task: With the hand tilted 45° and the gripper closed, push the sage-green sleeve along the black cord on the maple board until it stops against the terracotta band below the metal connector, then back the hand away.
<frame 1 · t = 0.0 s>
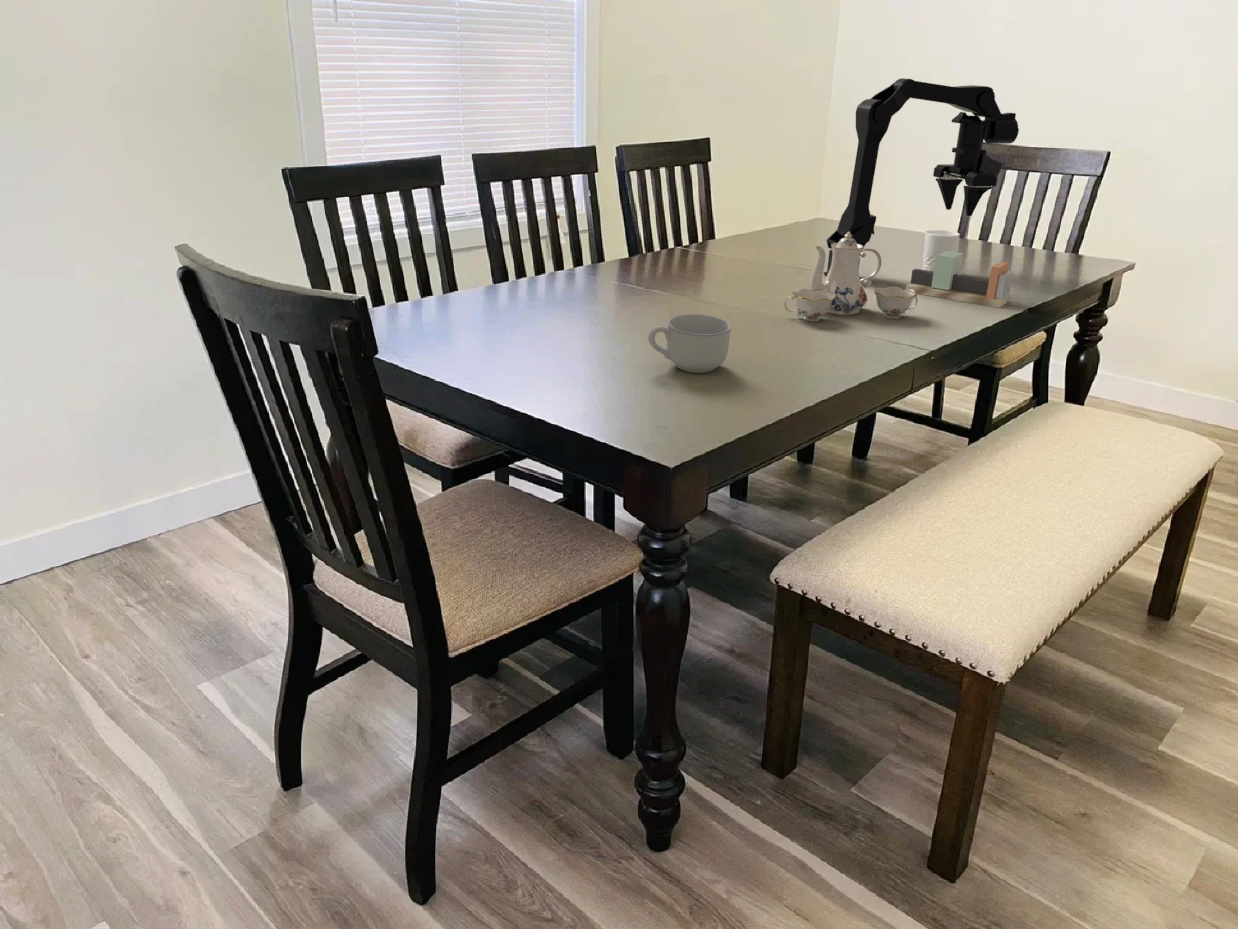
hand: (958, 212, 220), 15 cm above the table, tool pointing down, fingers open, 9 cm apart
teacup: (687, 368, 157), on the table
sleeve: (947, 270, 204), point 5 cm above the table, slide at 0.0 cm
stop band: (997, 280, 198), on the track board, point 5 cm above the table
track board: (956, 296, 205), on the table
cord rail: (955, 282, 204), on the track board, point 3 cm above the table
chinaware: (844, 314, 191), on the table
white cup: (935, 274, 226), on the table
connector: (1004, 285, 198), on the track board, point 4 cm above the table
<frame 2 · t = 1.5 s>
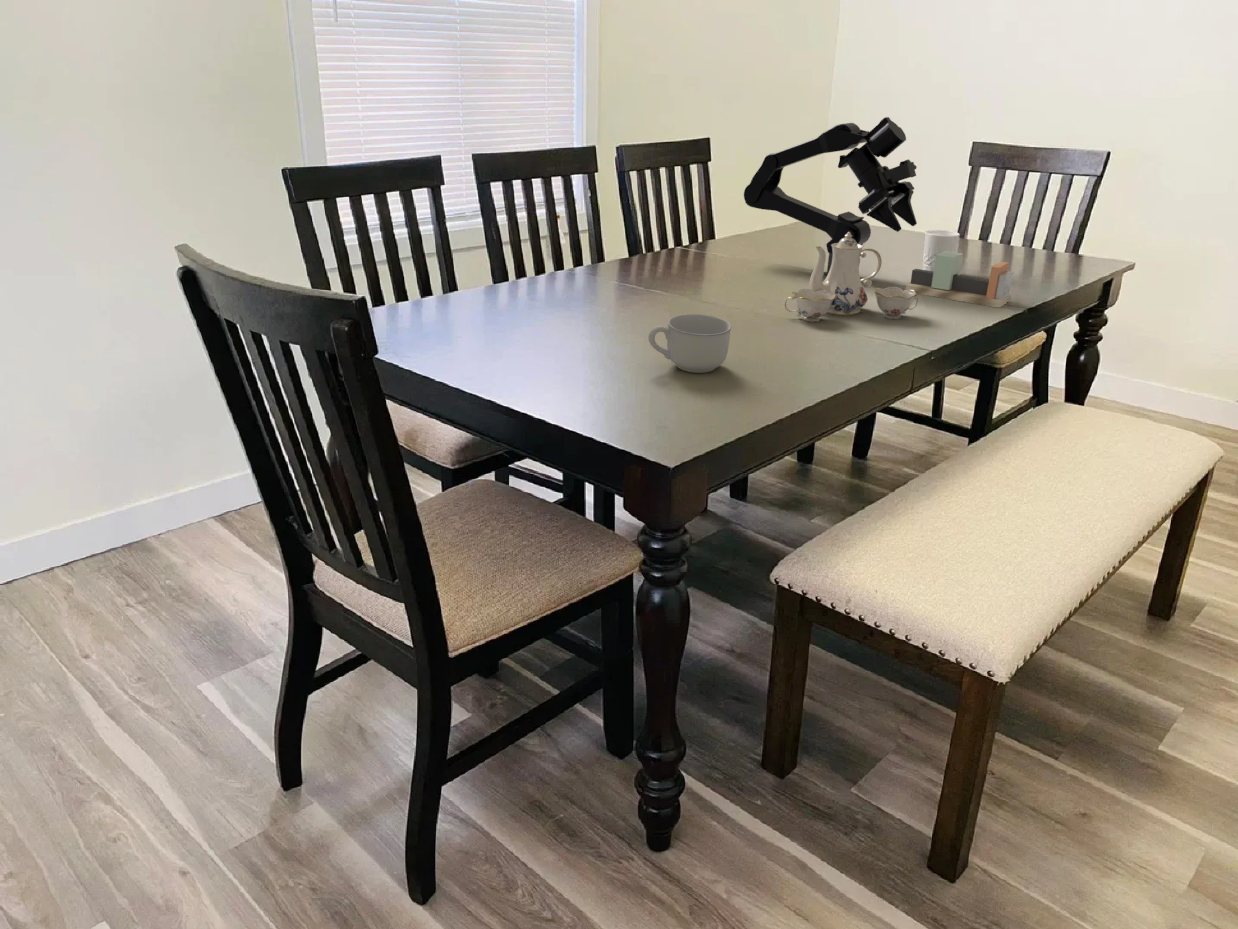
hand: (907, 227, 207), 13 cm above the table, tool tilted 45°, fingers open, 9 cm apart
nothing on the table moved.
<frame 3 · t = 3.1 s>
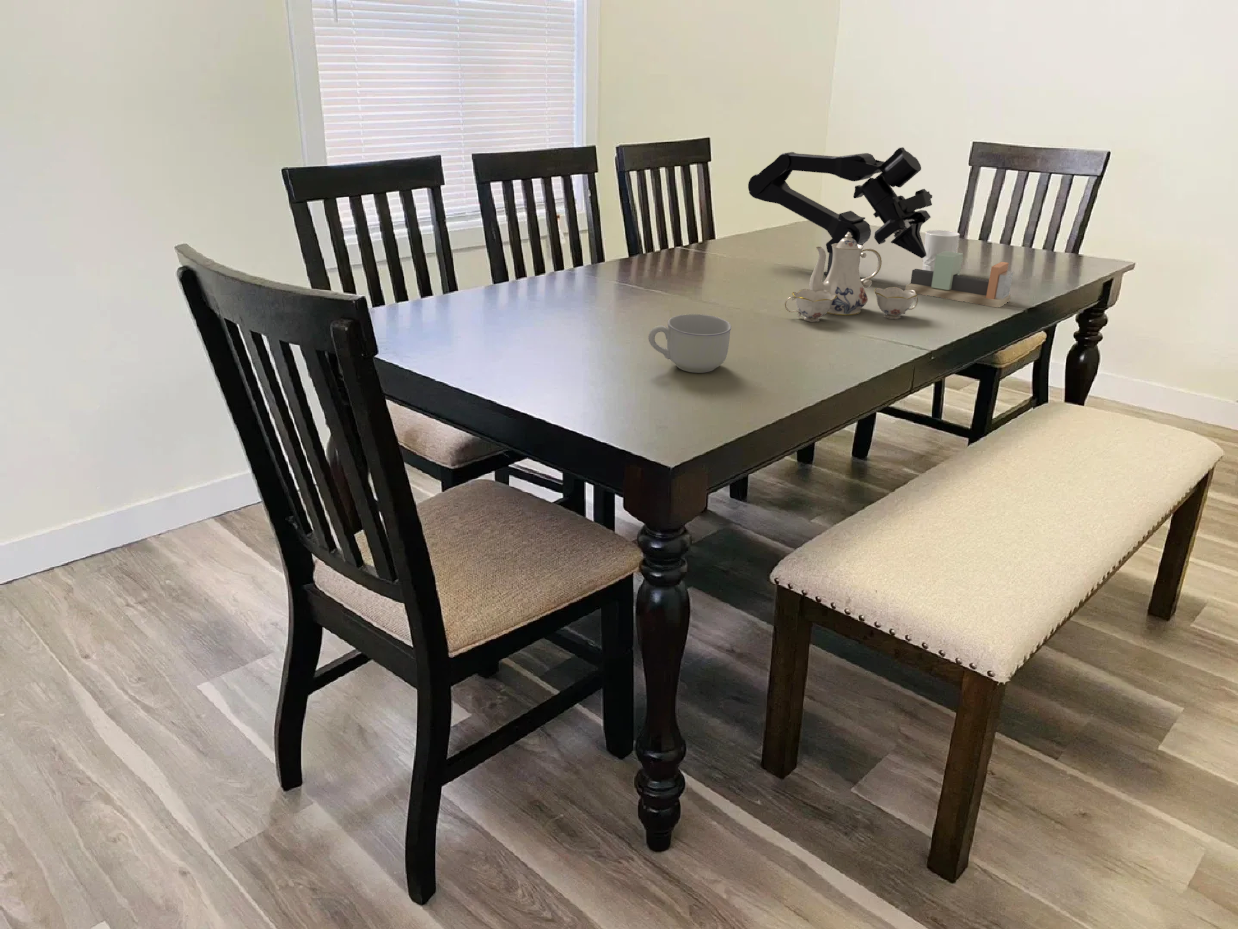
hand: (924, 256, 207), 8 cm above the table, tool tilted 45°, fingers closed
nothing on the table moved.
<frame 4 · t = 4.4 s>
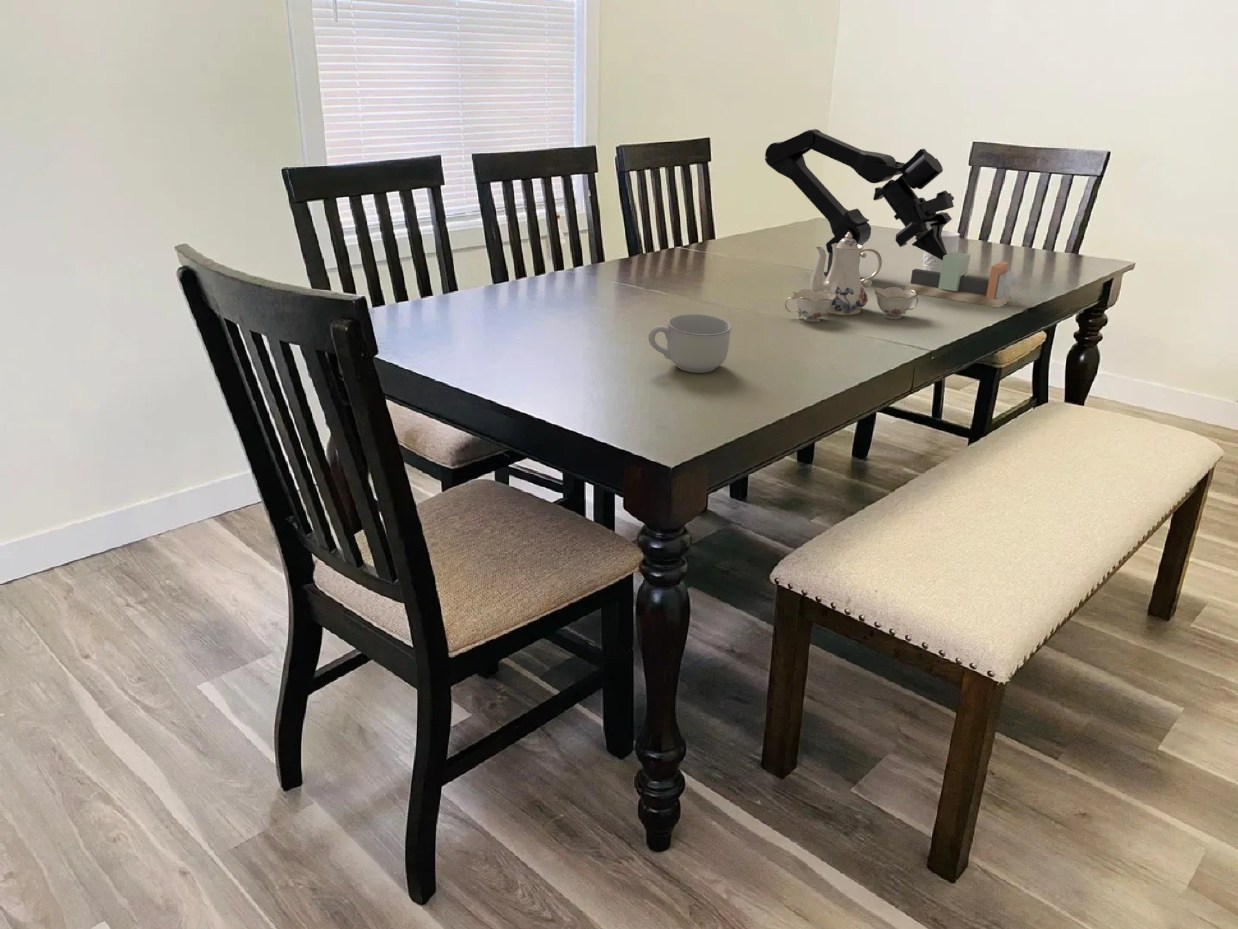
hand: (945, 259, 204), 8 cm above the table, tool tilted 45°, fingers closed, pressing on sleeve
sleeve: (954, 271, 204), point 5 cm above the table, slide at 1.6 cm, touching gripper
everything else where it was.
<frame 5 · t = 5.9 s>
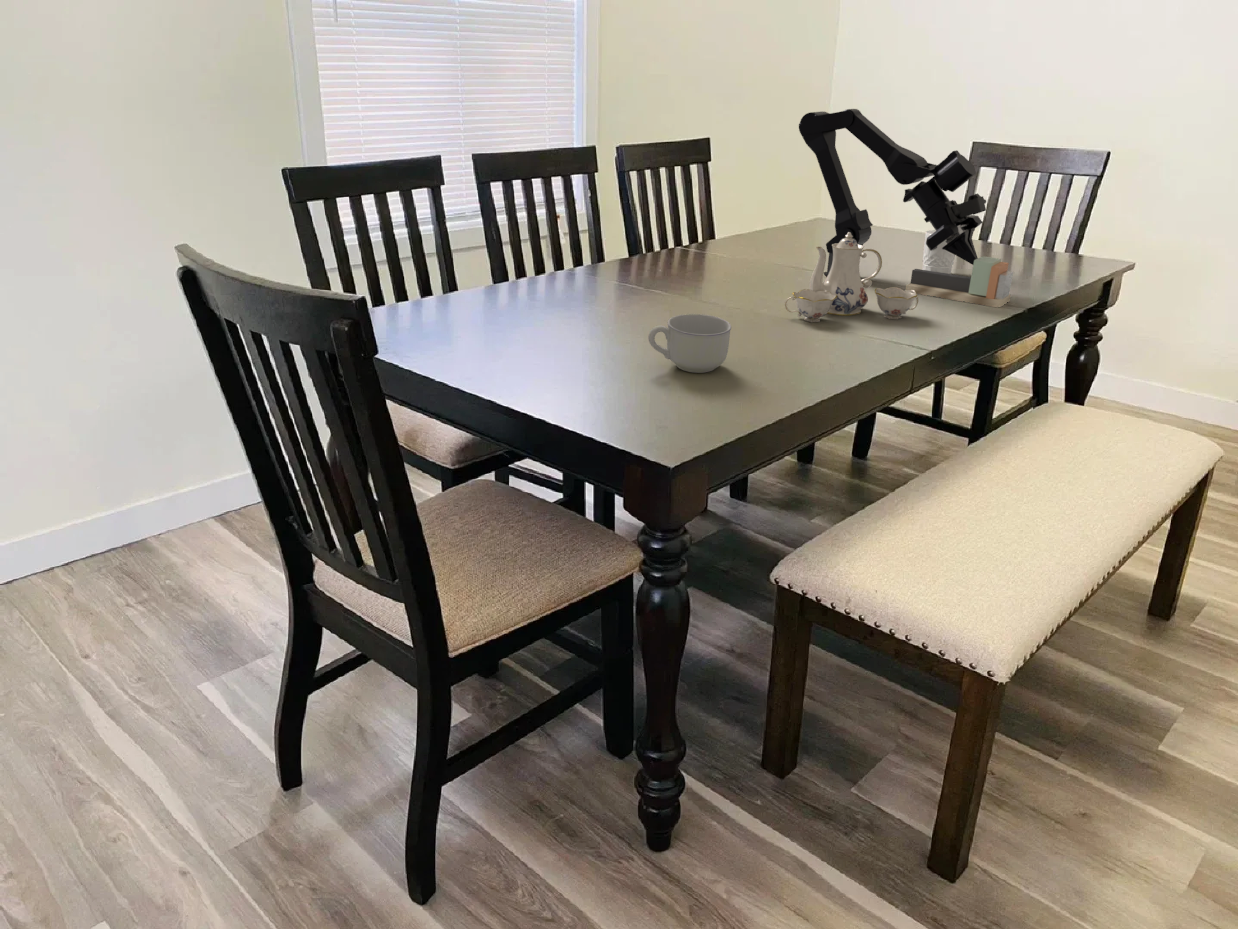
hand: (976, 263, 200), 8 cm above the table, tool tilted 45°, fingers closed, pressing on sleeve
sleeve: (984, 276, 200), point 5 cm above the table, slide at 8.3 cm, touching gripper, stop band
everything else where it was.
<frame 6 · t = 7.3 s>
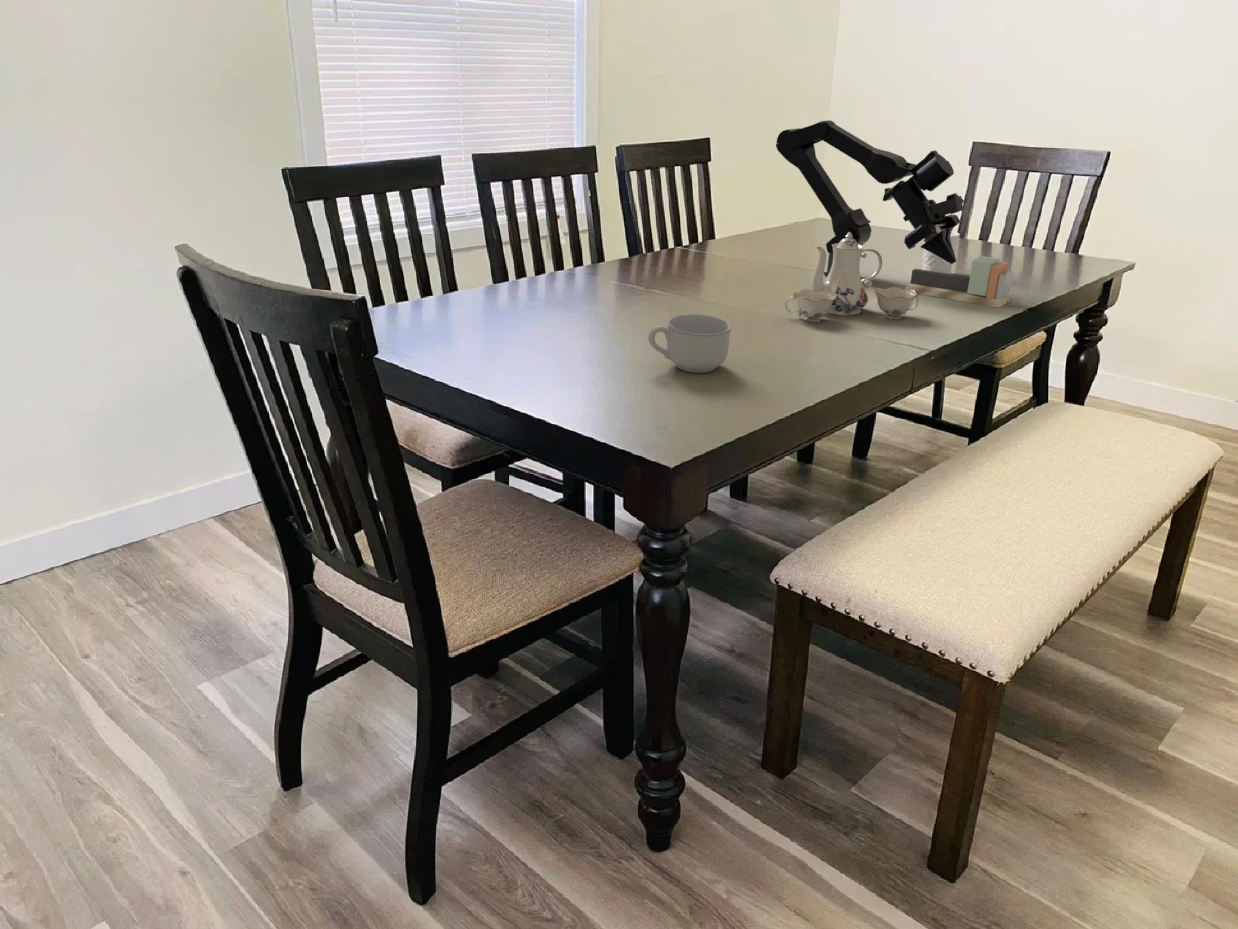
hand: (954, 262, 203), 7 cm above the table, tool tilted 45°, fingers closed
sleeve: (983, 275, 200), point 5 cm above the table, slide at 8.0 cm
everything else where it was.
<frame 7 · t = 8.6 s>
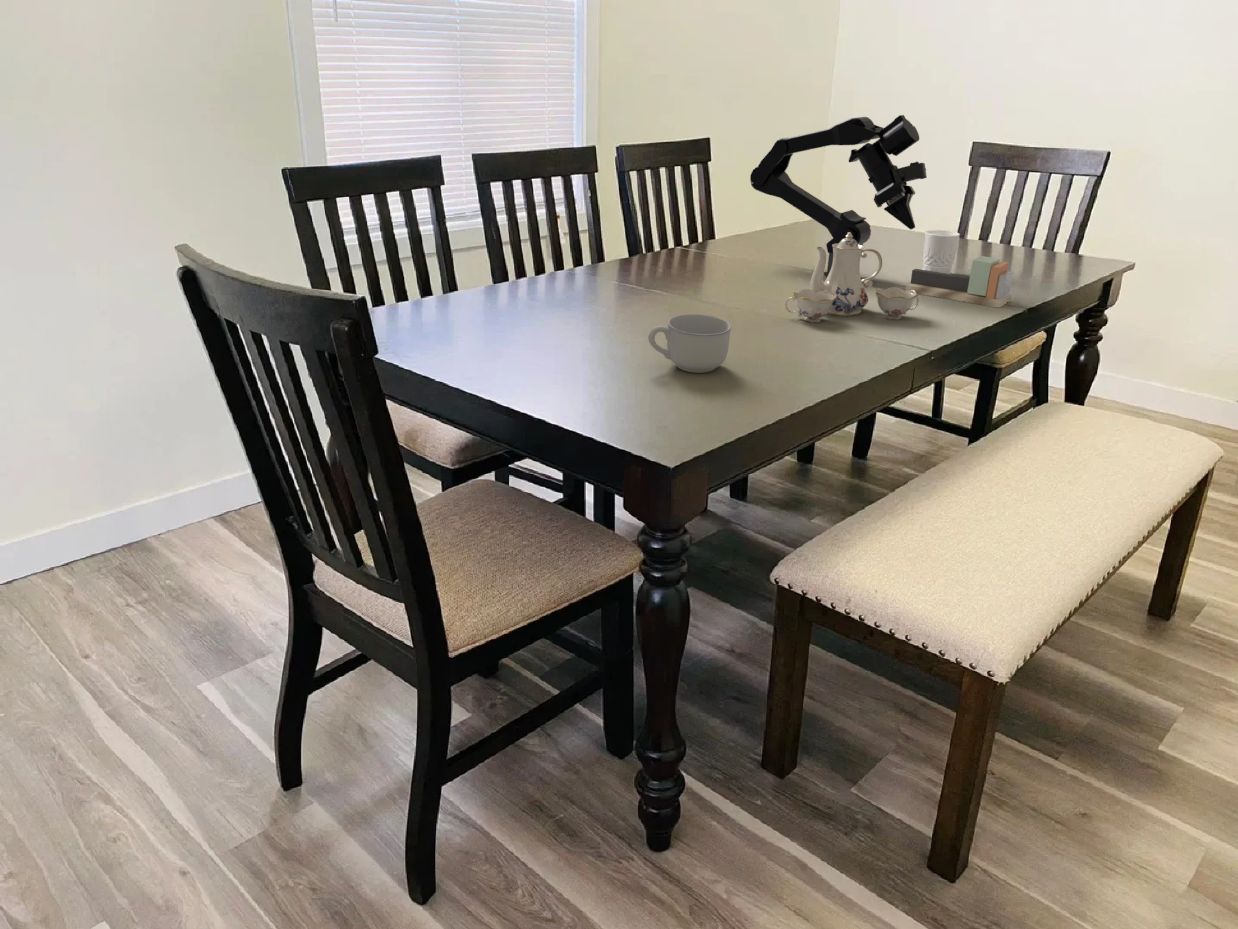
hand: (913, 228, 207), 13 cm above the table, tool tilted 40°, fingers closed
nothing on the table moved.
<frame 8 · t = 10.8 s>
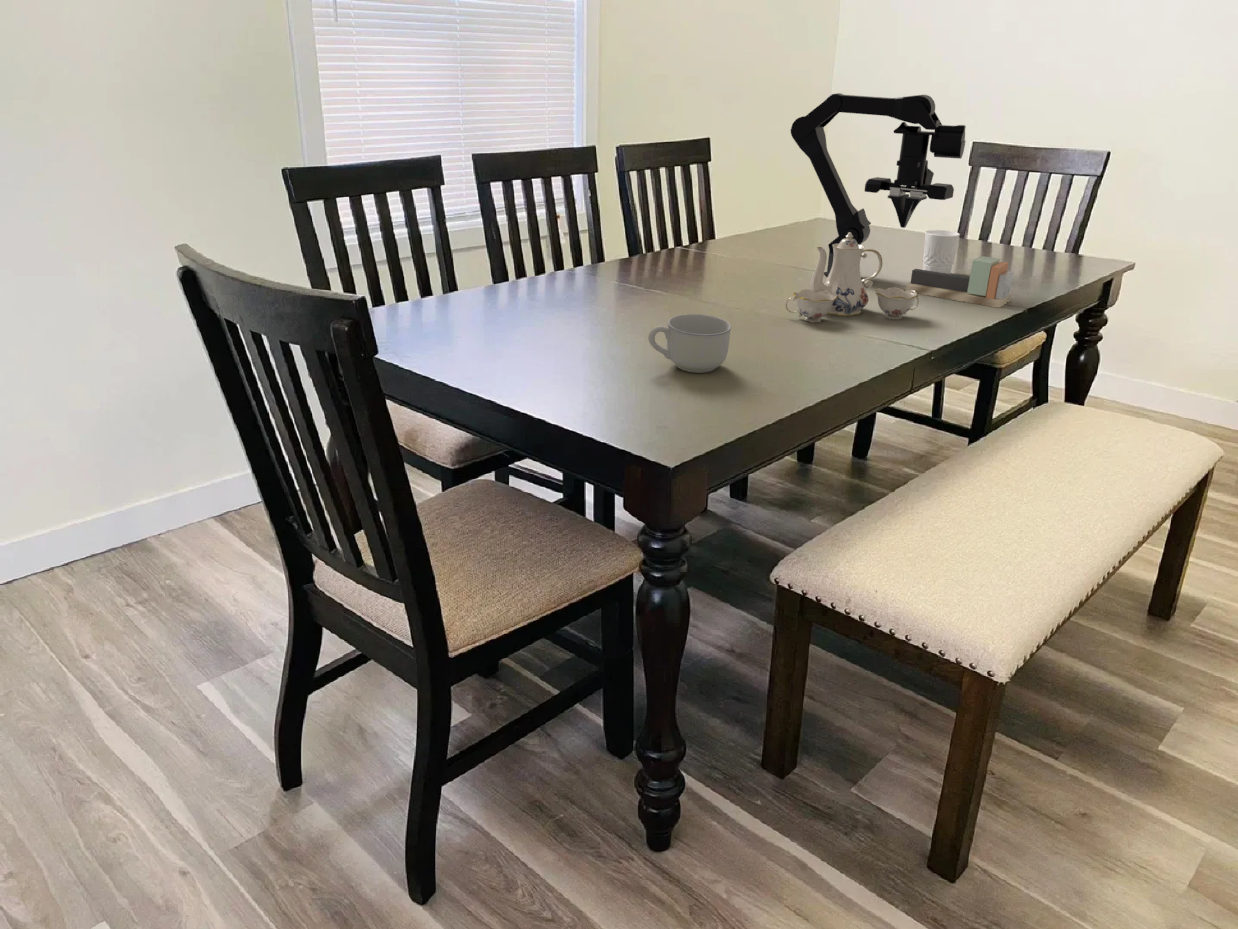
hand: (903, 227, 210), 13 cm above the table, tool pointing down, fingers closed
nothing on the table moved.
at the end: sleeve slide at 8.0 cm; the gripper is holding nothing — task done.
